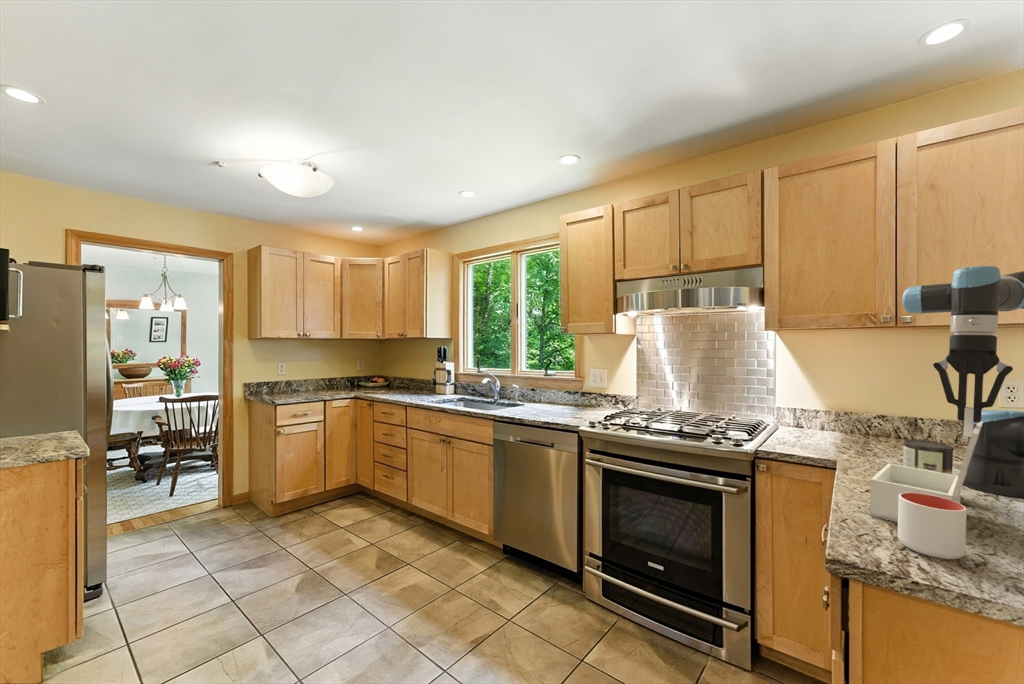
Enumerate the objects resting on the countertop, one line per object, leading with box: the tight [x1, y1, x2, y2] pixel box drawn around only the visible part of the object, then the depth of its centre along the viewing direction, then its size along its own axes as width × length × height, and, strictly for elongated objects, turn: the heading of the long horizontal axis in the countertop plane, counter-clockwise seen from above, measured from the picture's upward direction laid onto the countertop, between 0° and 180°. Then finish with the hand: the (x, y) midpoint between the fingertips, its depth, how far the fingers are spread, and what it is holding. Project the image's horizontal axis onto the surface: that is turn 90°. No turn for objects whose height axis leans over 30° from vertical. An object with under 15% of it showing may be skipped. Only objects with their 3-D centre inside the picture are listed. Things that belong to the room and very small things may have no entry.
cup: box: [897, 493, 968, 560], centre depth 89 cm, size 10×10×10 cm
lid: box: [953, 421, 983, 497], centre depth 101 cm, size 14×23×1 cm
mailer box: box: [869, 462, 962, 524], centre depth 107 cm, size 14×22×9 cm, turn 131°
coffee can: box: [902, 439, 955, 475], centre depth 122 cm, size 10×10×14 cm
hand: (968, 435), depth 101 cm, fingers closed
